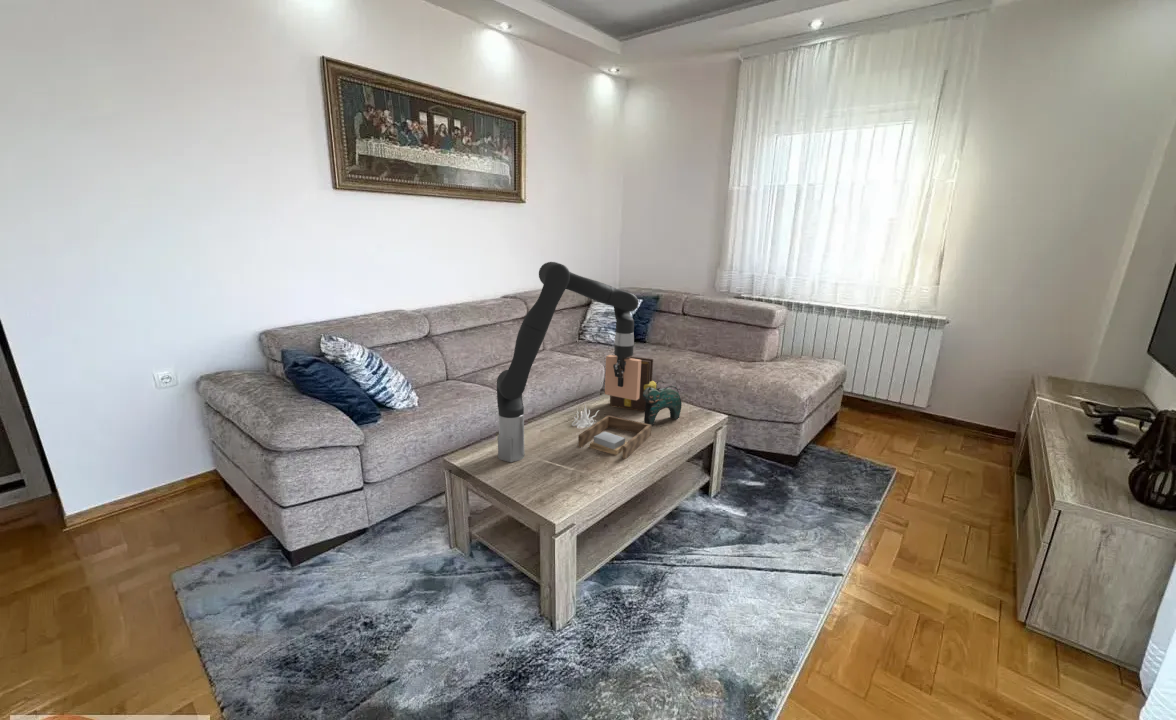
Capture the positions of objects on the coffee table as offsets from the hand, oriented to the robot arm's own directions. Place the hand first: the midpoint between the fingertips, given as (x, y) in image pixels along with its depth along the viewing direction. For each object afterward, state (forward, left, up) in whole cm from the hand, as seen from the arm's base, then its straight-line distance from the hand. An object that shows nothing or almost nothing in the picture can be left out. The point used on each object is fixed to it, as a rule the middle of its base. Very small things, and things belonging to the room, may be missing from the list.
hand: (622, 385), depth 197 cm
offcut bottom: (-11, 0, -23) cm, 26 cm away
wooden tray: (-5, 0, -23) cm, 23 cm away
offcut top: (-11, 0, -21) cm, 24 cm away
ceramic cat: (+25, -8, -23) cm, 35 cm away
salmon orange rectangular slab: (0, 0, -5) cm, 5 cm away
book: (+34, +10, -23) cm, 42 cm away
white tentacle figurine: (+5, +19, -23) cm, 31 cm away
